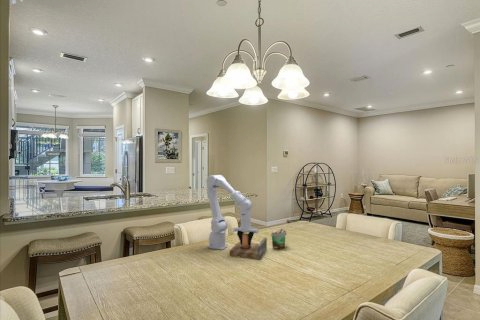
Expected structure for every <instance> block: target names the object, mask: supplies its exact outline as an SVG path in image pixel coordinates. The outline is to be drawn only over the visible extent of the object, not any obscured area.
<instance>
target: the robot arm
mask: <svg viewBox="0 0 480 320" xmlns="http://www.w3.org/2000/svg"><path fill="white" fill-rule="evenodd" d="M205 181H206V194H207V198H208V202H209V206H210V211H211V216H212V219H211V220H210V224H211V226H210V230H211V232H210V233H209V238H208V240H209V241H208V243H209V245H208V249H214V250H215V249H216V250H225V249H226V247H228V244H226V231H227V229H228V223H227V220H226V219H225V217H224V216H223V215H222V212H221V208H220V203H219V199H218V194H217V190H218V189H219V187H221V188H222V189H224V190H225V191H226V192H227V193H229V195H230V198H231V200H233V201H234V203H236V204H237V206H238V209H239V210H240V227H236V226H235V227H233V228H232V229H233V230H232V231H233V232H237V233H236V235H237V237H238V239H239V242H240V243H241V245H242V234H244V233H248V239H249V242H248V245H249V246H250V245H251V243H252V240H253V238H254V234H259V229H257V228H254V227H253V228H252V226H251V223H252V221H251V217H252V216H251V214H252V213H251V209H252V207H253V202H252V201H251V199H248V198H246V197H245V196H244V195H243V194H242V192H241V191H239V190H235V189H234V188H233V186H231V184H230V183H229V182H228V181H227V180H226V178H225V177H224V175H222V174H213V175H212V174H211V175H208V177H207V179H206V180H205Z"/></svg>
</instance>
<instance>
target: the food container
mask: <svg viewBox="0 0 480 320" xmlns="http://www.w3.org/2000/svg"><path fill="white" fill-rule="evenodd" d="M287 234H288V233H287V231H286V229H283V228H280V230H277V231H276V232H271V241H272V243H271V244H272V250H284V249H285V248H286V236H287Z"/></svg>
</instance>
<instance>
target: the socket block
mask: <svg viewBox="0 0 480 320" xmlns="http://www.w3.org/2000/svg"><path fill="white" fill-rule="evenodd" d="M267 240H268V238H267V237H263V238H262V240H261V241H259V243H254V242H251V245H250V246H249V249H242V245H241V243H240V241H238V242H237V243H236V244H235V245H233V247H232V248H230V249H229V257H237V258H243V259H245V258H246V259H255V260H261V259H262V258H263V256H264V255H265V253H266V252H267V250H268V244H267V243H268V242H267Z"/></svg>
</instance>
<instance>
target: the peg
mask: <svg viewBox="0 0 480 320" xmlns="http://www.w3.org/2000/svg"><path fill="white" fill-rule="evenodd" d="M248 233H249V232H243V234H242V249H249V245H248V242H249V239H248Z"/></svg>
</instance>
